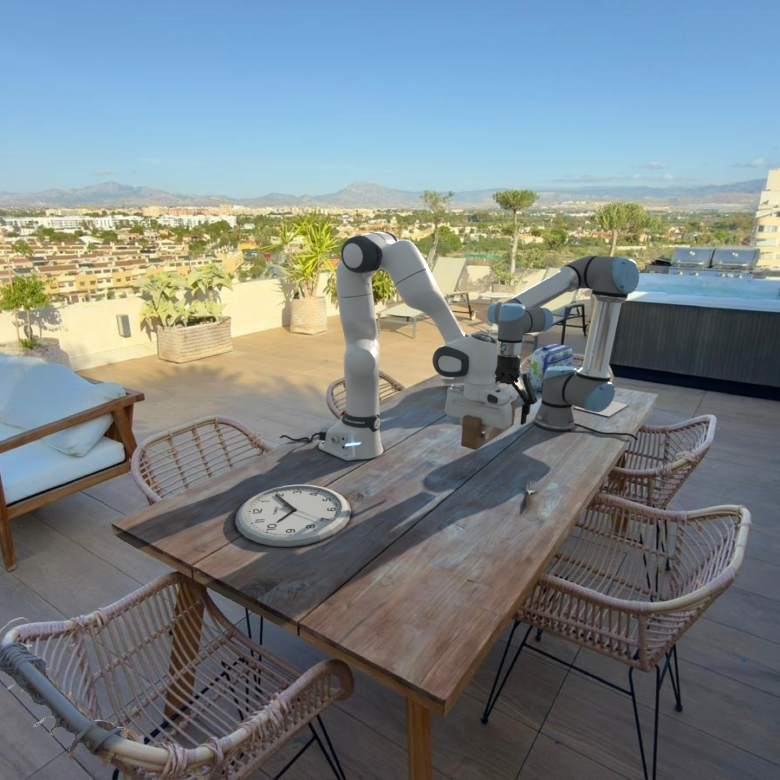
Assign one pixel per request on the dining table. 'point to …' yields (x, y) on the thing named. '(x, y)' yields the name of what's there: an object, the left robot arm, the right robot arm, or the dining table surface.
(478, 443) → the bar
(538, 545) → the dining table surface
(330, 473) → the dining table surface
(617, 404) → the invitation card
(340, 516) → the wall clock
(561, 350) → the lunch box
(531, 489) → the fork
